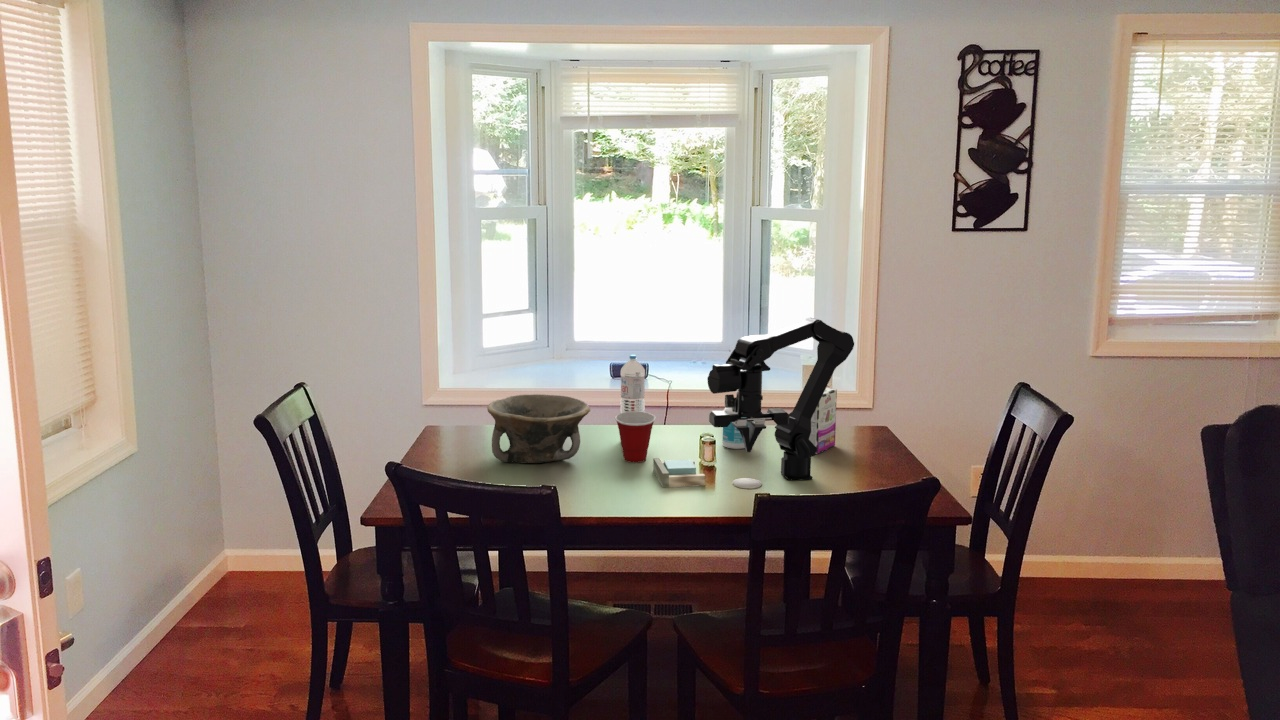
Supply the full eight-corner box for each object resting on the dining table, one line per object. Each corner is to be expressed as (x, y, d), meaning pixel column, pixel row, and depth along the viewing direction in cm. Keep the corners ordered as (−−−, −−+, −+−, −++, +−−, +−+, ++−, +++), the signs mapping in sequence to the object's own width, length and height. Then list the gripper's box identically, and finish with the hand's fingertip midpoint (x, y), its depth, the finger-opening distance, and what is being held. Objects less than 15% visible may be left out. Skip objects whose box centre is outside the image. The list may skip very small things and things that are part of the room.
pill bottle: (736, 451, 267) (737, 403, 265) (716, 445, 273) (717, 398, 270) (754, 446, 272) (756, 399, 270) (735, 440, 278) (736, 394, 275)
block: (691, 474, 247) (691, 459, 247) (695, 483, 241) (696, 467, 240) (663, 475, 247) (664, 460, 246) (667, 484, 240) (667, 468, 239)
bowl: (609, 455, 263) (609, 401, 260) (547, 480, 241) (546, 421, 239) (532, 439, 278) (531, 388, 275) (467, 461, 256) (466, 406, 253)
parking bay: (693, 469, 251) (693, 456, 250) (704, 485, 238) (705, 471, 238) (653, 471, 249) (653, 458, 248) (662, 487, 237) (662, 473, 236)
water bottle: (644, 445, 272) (645, 357, 267) (619, 445, 272) (620, 357, 268) (644, 438, 279) (645, 353, 274) (620, 438, 279) (621, 352, 274)
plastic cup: (614, 466, 253) (615, 421, 251) (614, 454, 264) (614, 411, 262) (656, 465, 254) (657, 421, 251) (654, 453, 264) (654, 410, 262)
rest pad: (756, 479, 244) (756, 477, 243) (764, 487, 237) (764, 486, 237) (729, 480, 242) (729, 478, 242) (736, 489, 236) (737, 487, 236)
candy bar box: (819, 443, 276) (821, 386, 273) (835, 446, 273) (838, 389, 270) (800, 451, 267) (802, 393, 264) (817, 455, 264) (819, 396, 261)
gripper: (777, 381, 244) (775, 441, 247) (704, 383, 241) (703, 444, 244) (791, 391, 234) (788, 453, 237) (715, 393, 230) (714, 457, 234)
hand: (748, 451), depth 238 cm, fingers closed
